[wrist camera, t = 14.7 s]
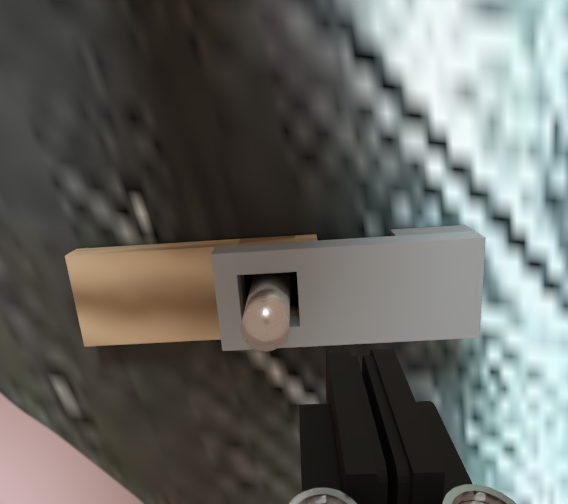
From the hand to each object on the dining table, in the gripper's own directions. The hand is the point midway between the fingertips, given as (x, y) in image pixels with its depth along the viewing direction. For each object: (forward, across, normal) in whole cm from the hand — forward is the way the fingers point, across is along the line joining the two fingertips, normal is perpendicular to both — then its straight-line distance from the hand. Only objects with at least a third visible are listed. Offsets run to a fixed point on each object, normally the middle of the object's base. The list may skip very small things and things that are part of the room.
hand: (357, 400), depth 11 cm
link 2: (+26, -3, +7) cm, 27 cm away
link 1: (+26, +9, +8) cm, 28 cm away
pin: (+26, +3, +7) cm, 27 cm away
